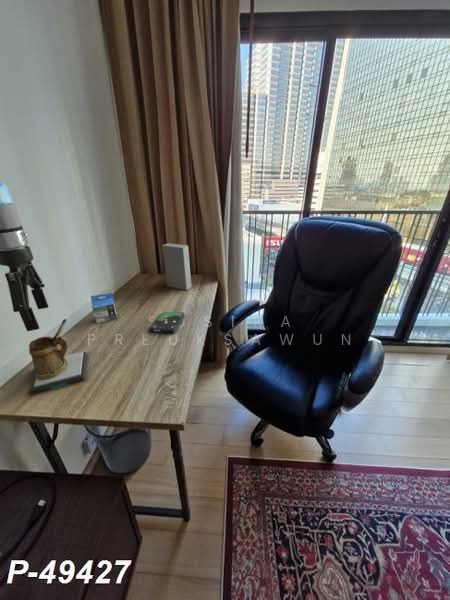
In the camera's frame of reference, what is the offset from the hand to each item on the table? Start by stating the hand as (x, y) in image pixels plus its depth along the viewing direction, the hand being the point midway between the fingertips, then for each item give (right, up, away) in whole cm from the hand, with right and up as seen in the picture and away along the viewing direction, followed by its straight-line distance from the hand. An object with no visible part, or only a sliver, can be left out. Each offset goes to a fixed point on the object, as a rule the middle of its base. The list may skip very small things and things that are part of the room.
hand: (38, 318), depth 74 cm
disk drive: (+30, -6, +36) cm, 48 cm away
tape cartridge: (+1, -4, +41) cm, 41 cm away
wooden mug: (+1, -17, +8) cm, 19 cm away
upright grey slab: (+29, +13, +74) cm, 80 cm away
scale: (+1, -20, +10) cm, 22 cm away
